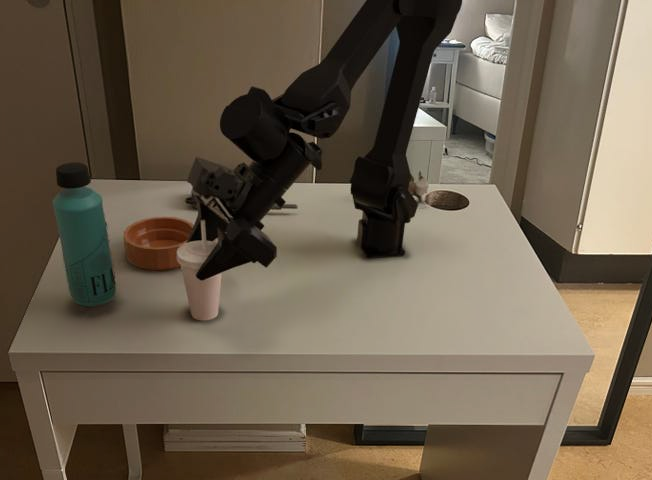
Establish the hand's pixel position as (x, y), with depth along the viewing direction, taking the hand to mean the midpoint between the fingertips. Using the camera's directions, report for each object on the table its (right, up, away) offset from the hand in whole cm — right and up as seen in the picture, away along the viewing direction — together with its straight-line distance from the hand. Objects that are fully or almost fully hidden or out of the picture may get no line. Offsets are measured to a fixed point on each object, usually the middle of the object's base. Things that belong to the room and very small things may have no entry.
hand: (191, 266), depth 92 cm
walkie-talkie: (+4, +16, +34) cm, 38 cm away
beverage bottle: (-14, -4, +7) cm, 17 cm away
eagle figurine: (+33, +17, +36) cm, 52 cm away
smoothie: (+1, -6, +5) cm, 8 cm away
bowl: (-7, +4, +18) cm, 20 cm away
